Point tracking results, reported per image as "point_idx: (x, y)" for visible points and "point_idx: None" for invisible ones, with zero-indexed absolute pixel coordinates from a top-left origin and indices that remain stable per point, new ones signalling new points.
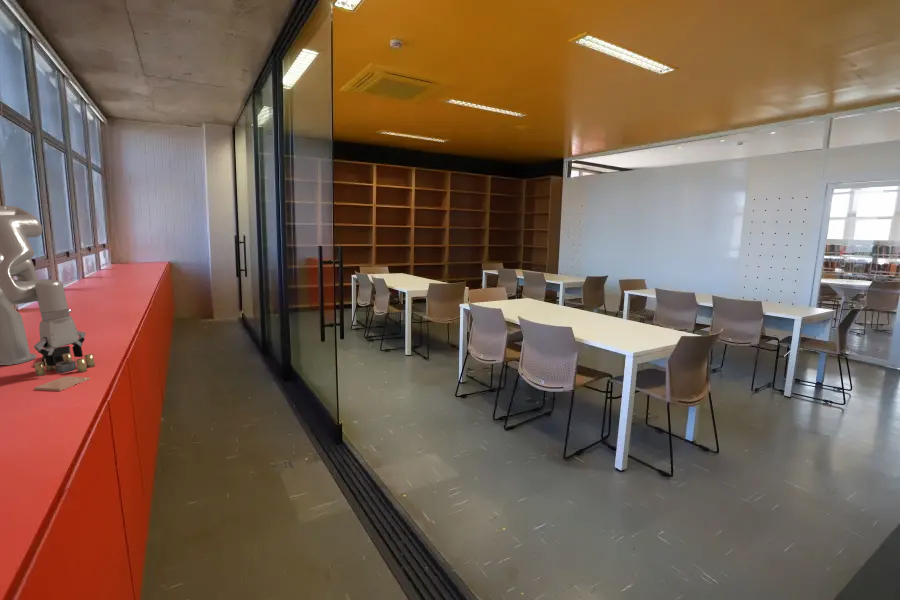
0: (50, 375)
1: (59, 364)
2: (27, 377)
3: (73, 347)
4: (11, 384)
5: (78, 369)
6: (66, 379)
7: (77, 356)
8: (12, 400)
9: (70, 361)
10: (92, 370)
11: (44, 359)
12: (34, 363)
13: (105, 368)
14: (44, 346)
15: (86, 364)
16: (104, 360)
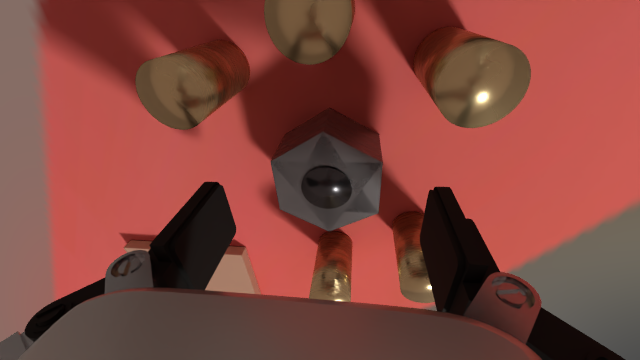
0: (244, 142)
1: (294, 176)
2: (155, 9)
3: (453, 271)
4: (59, 58)
5: (317, 252)
6: (222, 282)
7: (424, 216)
8: (64, 251)
9: (366, 191)
10: (352, 268)
11: (266, 5)
12: (141, 69)
13: (381, 293)
14: (100, 306)
15: (396, 232)
16: (535, 213)
